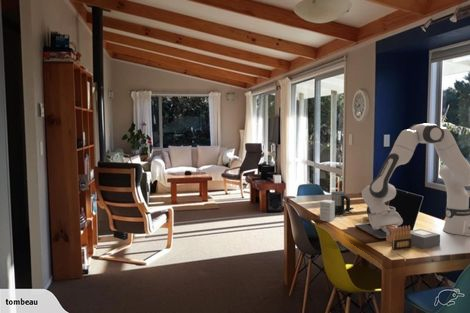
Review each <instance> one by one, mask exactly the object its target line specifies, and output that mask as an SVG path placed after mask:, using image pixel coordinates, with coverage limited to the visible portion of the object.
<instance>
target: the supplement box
mask: <svg viewBox="0 0 470 313" xmlns="http://www.w3.org/2000/svg"><path fill="white" fill-rule="evenodd" d="M335 216H336V214H335V201H332V199H322V200H321V201H319V220H320V221H324V222H329V223H330V222H332V221H335Z"/></svg>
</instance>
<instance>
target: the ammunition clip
mask: <svg viewBox="0 0 470 313" xmlns="http://www.w3.org/2000/svg"><path fill="white" fill-rule="evenodd" d="M410 231H411V226H410V224H409V225H408V226H407V225H403V226H401V225H399V226H397V230H396V227H394V232H393V239H392V243H391V249H392V250H393V251H398V250H406V249H407V250H408V249H412V245H411V232H410Z"/></svg>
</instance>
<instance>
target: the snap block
mask: <svg viewBox="0 0 470 313" xmlns="http://www.w3.org/2000/svg"><path fill="white" fill-rule="evenodd" d="M394 227H396V230H397V226H395V225H391V226H387V228H386V229H388V230H390V232H391V234H390V235H387V233H386V232H385V234H386V236H385V237H386V238H385V239H386V240H385V241H387V242H390V243H391V244H392V239H393V232H394Z"/></svg>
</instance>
